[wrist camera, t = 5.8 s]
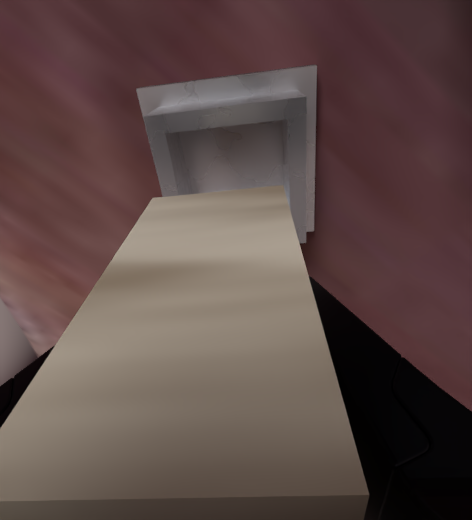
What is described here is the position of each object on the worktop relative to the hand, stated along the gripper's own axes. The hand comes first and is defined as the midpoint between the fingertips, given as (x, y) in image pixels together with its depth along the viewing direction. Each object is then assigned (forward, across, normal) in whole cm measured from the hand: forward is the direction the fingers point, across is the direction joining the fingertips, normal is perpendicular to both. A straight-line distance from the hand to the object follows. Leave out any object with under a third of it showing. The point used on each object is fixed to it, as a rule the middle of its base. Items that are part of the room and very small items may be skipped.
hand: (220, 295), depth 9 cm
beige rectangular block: (+2, 0, 0) cm, 2 cm away
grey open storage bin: (+12, 0, 0) cm, 12 cm away
